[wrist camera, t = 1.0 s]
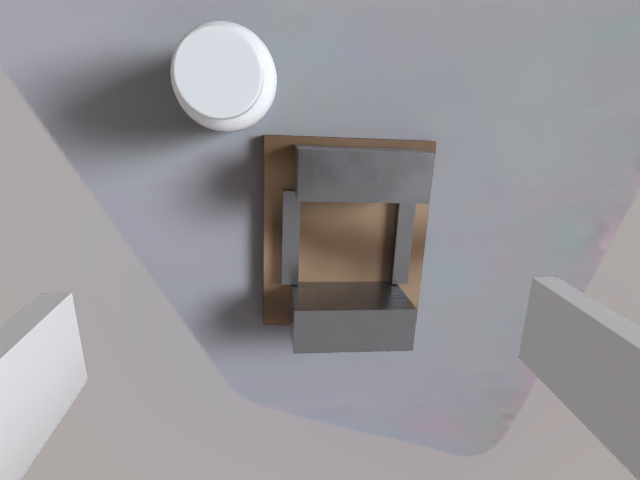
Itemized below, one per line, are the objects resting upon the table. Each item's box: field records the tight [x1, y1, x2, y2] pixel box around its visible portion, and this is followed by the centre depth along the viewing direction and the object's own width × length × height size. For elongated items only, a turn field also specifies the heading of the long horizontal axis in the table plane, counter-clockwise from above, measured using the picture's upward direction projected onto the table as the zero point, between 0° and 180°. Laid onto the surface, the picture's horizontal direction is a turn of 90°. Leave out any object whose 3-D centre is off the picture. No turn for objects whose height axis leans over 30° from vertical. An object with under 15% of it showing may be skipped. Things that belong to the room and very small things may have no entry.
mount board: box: [263, 135, 436, 325], centre depth 31 cm, size 14×12×1 cm
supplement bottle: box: [170, 21, 277, 132], centre depth 24 cm, size 5×5×10 cm
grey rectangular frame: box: [281, 144, 435, 353], centre depth 29 cm, size 13×9×5 cm
